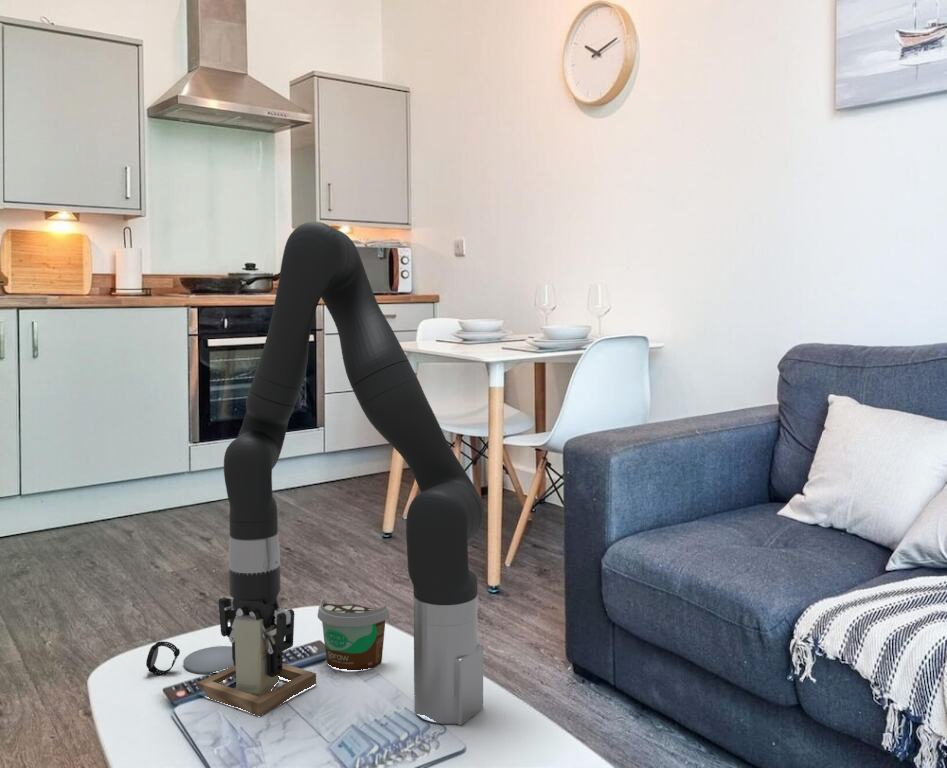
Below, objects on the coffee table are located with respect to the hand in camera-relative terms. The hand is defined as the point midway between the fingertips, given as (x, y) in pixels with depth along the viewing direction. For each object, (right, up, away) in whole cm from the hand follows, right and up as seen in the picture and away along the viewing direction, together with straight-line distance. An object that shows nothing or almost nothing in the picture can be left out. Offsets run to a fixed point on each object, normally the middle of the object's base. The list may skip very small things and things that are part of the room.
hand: (257, 669), depth 131 cm
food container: (+13, -3, +9) cm, 16 cm away
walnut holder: (0, -3, 0) cm, 3 cm away
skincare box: (0, -4, 0) cm, 4 cm away
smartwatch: (-17, -3, +6) cm, 18 cm away
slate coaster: (-10, -2, +11) cm, 15 cm away
